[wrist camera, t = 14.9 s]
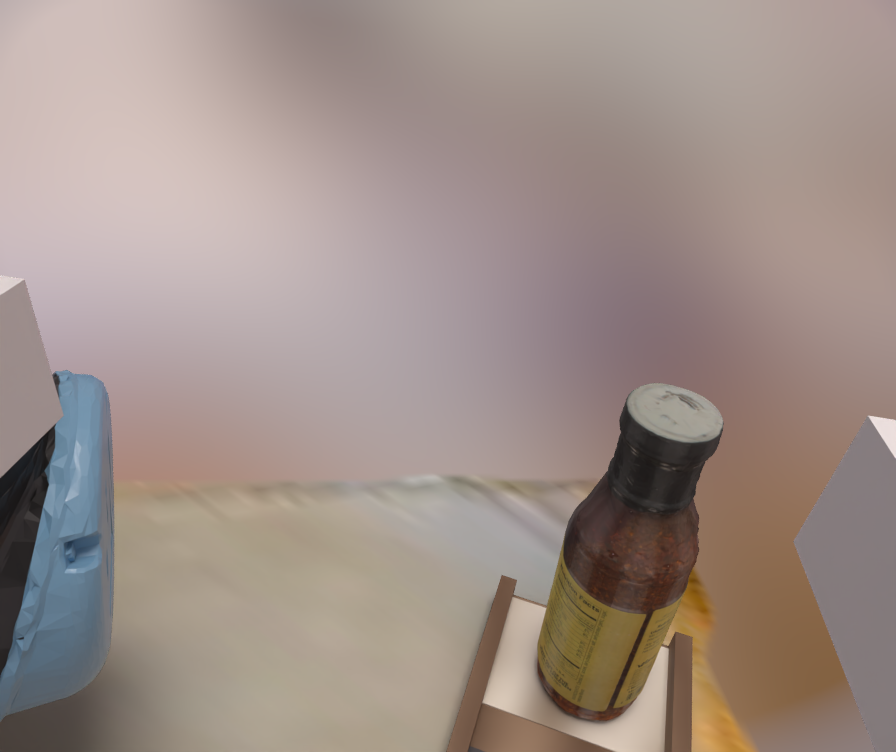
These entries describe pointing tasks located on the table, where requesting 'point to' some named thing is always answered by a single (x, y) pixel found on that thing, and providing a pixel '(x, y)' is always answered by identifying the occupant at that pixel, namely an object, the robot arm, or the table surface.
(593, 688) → the sauce bottle
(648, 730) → the trap channel board
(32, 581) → the robot arm
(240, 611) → the table surface
